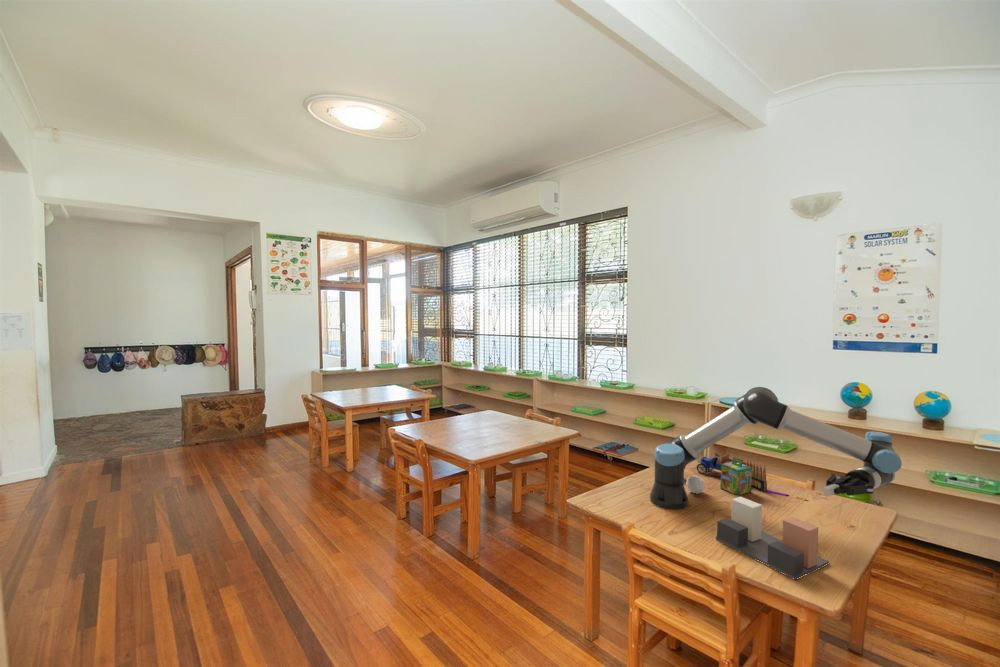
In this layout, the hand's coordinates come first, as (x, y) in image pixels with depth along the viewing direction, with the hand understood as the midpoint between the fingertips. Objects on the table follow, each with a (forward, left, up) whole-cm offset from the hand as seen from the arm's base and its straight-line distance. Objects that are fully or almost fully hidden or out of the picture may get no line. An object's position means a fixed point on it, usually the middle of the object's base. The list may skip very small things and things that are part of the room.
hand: (825, 491), depth 147 cm
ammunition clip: (+6, +55, -21) cm, 60 cm away
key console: (-17, +1, -21) cm, 27 cm away
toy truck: (-2, +69, -22) cm, 72 cm away
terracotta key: (-12, -6, -20) cm, 24 cm away
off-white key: (-21, +9, -20) cm, 30 cm away
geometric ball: (-23, +49, -21) cm, 58 cm away
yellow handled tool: (+16, +48, -22) cm, 55 cm away
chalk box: (-4, +52, -21) cm, 56 cm away
